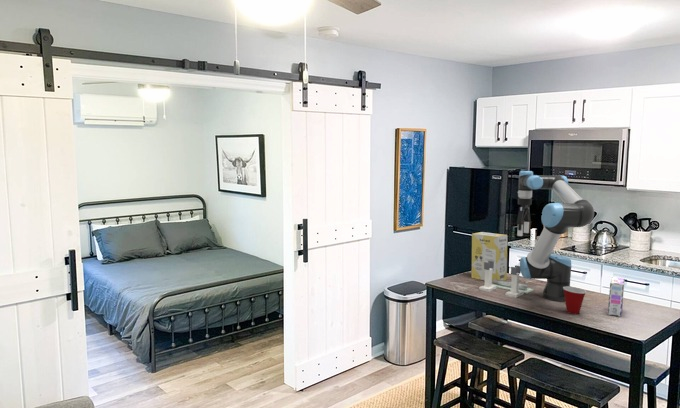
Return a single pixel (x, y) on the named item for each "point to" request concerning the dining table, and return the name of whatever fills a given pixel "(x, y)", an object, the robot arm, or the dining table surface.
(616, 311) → the candy box
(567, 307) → the plastic cup
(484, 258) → the pasta box
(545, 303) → the dining table surface
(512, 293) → the rack
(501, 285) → the mat
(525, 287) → the rail
